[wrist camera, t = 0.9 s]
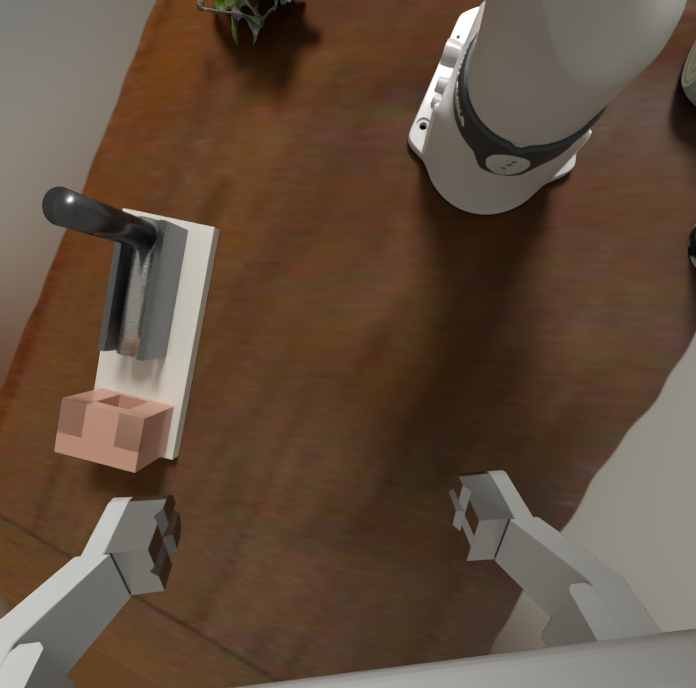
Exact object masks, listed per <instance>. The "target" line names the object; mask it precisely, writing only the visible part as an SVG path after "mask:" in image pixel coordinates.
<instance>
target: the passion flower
mask: <svg viewBox="0 0 696 688" xmlns="http://www.w3.org/2000/svg"><path fill="white" fill-rule="evenodd" d="M197 1H198V2H197V8H198V10H200V11H201V12H203V11H204V10H205V11H209V12H215V13H223V14H230V15H231V21H232V27H231V30H232V35H233V39H234V41H235V42H236V45H238V36H237V24H238V21H239V20H240V18H245V19H246V20H247V21H248V24H249V27H250V29H251V30H252V33H253V37H254V40H253V45H255V42H256V39H257V35H258V32H259V30H260V28H262V27H263V26H264V19H265V18H267V17H268V16H269V14H270V13H271V12H272V11H274V10H275V9H277V7H278V6H279V5H280V3H281V4H282V5H285V3H286V2H289V3H291V2H292V0H274V1H275V5H274V6H273V7H272V8H270V9H269V10H268V12H267V13H266V14H265V15H264V16H261V15H260V14H259V7H258V6H259V0H256V4H255V5H251V4H250V2H249V1H248V0H212V1H213V3H214V5H215V9H217V10H215V9H211V8H203V7H202V6H203V5H204V0H197ZM244 5H246V6H248V7H250V9H251V10H252V12H253V13H254V16H251V15H246V14H243V13H242V12H241V11H240V8H241V7H242V6H244ZM230 9H231V10H232V11H231V12H230V11H224V10H230Z"/></svg>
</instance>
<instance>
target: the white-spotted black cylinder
mask: <svg viewBox="0 0 696 688" xmlns="http://www.w3.org/2000/svg"><path fill="white" fill-rule="evenodd" d="M688 250H689V256H690V259H691V261H692V263H693V265H694V266H695V268H696V225H695V226H694V228H693V230H692V232H691V234H690V238H689V243H688Z"/></svg>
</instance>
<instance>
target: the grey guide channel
mask: <svg viewBox="0 0 696 688" xmlns="http://www.w3.org/2000/svg"><path fill="white" fill-rule="evenodd" d="M126 213H127V212H126ZM129 214H130V213H129ZM131 215H132V214H131ZM134 216H135V215H134ZM136 217H137V216H136ZM187 235H188V230H187V229H184V228H182V227H180V226H178V225H175V224H173V223H171V222H169V221H166V220H161V219H160V222H159V228H158V234H157V239H156V245H155V251H154V257H153V263H152V269H151V275H150V281H149V287H148V293H147V299H146V305H145V311H144V317H143V323H142V329H141V334H140V340H139V346H138V352H137V358H136V359H137V360H141V361H145V360H151V359H156V358H162V357H166V354H167V349H168V343H169V337H170V331H171V326H172V320H173V314H174V309H175V303H176V297H177V292H178V286H179V280H180V275H181V269H182V263H183V258H184V252H185V246H186V240H187ZM132 253H133V247H132V246H129V245H125V244H122V243H118V242H115V244H114V250H113V256H112V263H111V269H110V275H109V282H108V288H107V294H106V301H105V307H104V313H103V320H102V326H101V332H100V339H99V345H98V350H100V351H104V352H105V351H113V350H117V345H118V338H119V332H120V326H121V320H122V314H123V308H124V302H125V295H126V289H127V283H128V277H129V271H130V265H131V259H132Z"/></svg>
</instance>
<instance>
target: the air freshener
mask: <svg viewBox="0 0 696 688" xmlns="http://www.w3.org/2000/svg"><path fill="white" fill-rule="evenodd" d="M681 83H682V87H683V90H684V92H685V94H686V96H687V97H688V99H689V100H690V101H691V102H692V103H693V104H694V105H695V106H696V40H695V42H694V44H693V46H692V48H691V51H690V53H689V55H688V57H687V60H686V63H685V66H684V69H683V73H682V79H681Z"/></svg>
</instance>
